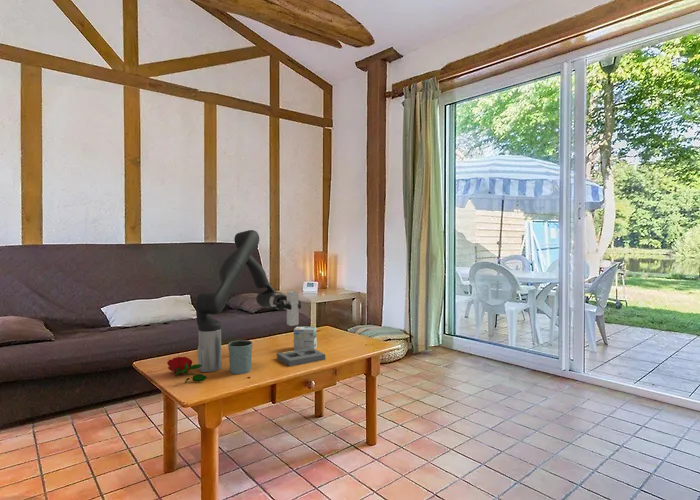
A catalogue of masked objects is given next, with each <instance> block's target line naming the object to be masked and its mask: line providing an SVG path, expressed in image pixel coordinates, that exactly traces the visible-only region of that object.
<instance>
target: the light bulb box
mask: <svg viewBox="0 0 700 500" xmlns="http://www.w3.org/2000/svg"><path fill="white" fill-rule="evenodd" d="M317 347H318V346H317V326H296V327H295V328H294V329H293V351H294V350H300V349H306V348H313V349H315V350H317Z"/></svg>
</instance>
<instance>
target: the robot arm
mask: <svg viewBox="0 0 700 500" xmlns="http://www.w3.org/2000/svg"><path fill="white" fill-rule="evenodd" d="M233 241H234V245H235V247H236V250H234V252H232V253H231V254H229V255H228V256H227V257H226V258H225V260H224V261H223V263H222V264H221V265H220V268H219V271H218V277H219V281H220V285H219V287H218V289H217V290H216V291H215V292H214V291H213V292H211V291H202V292H200V293H198V295H197V296H196V299H195V315H196V316H195V317H196V324H197V328H198V347H197V364H200V365H202V366H201V367H200V368H197V369H198V370H199V372H201V373H210V372H216V371H220V370H221V369H222V366H223V365H222V364H223V362H222V323H221V321H219V320H217V319H216V318H214V317H213V316H212V315H218V314H220V313H221V312H223V310H224V308H225V307H226V304H227V301H228V299H229V297H230V295H231V292H232V290H233V288H234V285H235V284H236V281H237V279H238V278H239V277H240V275H241V273H242V271H243V269H244V267H245V266H246V267H247V269H248V271H249V273H250V277H251V278H252V280H253V283H254V287H255V288H256V289H266V290H264V291H262V292H259V293H258V294H257V295H256V299H255V300H256V302H257V304H258V305H259V306H261V307H263V308H268V307H269V308H270V307H272V308H273V309H276V310H278V311H281V312H284V311H287V309H289V310H291V309H292V307H291V305H290V304H287V294H282V293H277V292H276V291H275V289H274V288H273V286H272V285H271V283H270V282H269V279H268V276H267V274H266V271H265V269H264V267H263V266H262V265H261V264H260V263H259V262H258V261H257V260H256V258H254V257H253V255H252V254H253V252H254V251H255V250H256V249H257V247H258V245H259V244H260V235H259V233H258V231H256V230H254V229H248V230H245V231H241V232H238V233H236V234H235V236H234V239H233ZM301 308H302V302H301V300H300V299H299V304H298V309H299V310H300V309H301Z"/></svg>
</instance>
